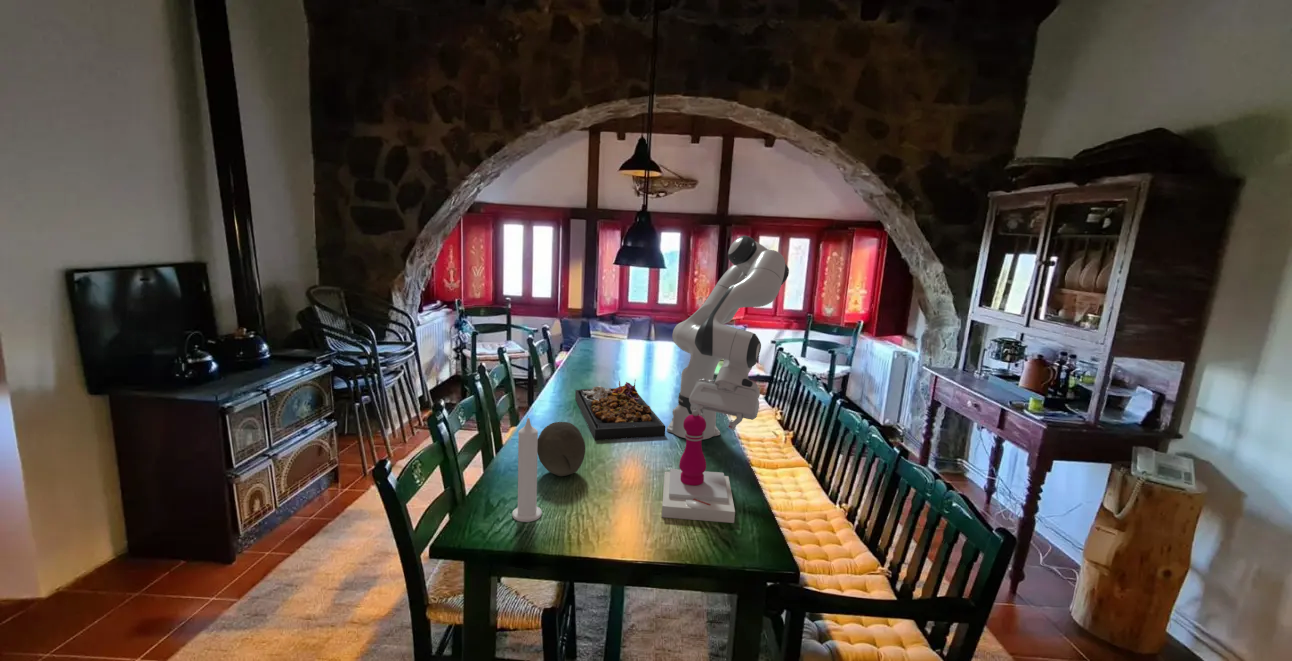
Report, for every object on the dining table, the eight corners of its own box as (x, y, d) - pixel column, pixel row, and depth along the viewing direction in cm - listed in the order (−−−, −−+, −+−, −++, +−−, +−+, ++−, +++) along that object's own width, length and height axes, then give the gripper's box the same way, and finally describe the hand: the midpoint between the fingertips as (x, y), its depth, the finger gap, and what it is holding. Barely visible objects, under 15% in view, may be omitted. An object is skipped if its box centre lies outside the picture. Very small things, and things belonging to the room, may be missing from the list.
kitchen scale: (664, 481, 158) (665, 467, 158) (727, 486, 157) (728, 472, 157) (661, 517, 139) (662, 502, 138) (734, 523, 138) (735, 507, 137)
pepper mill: (688, 472, 155) (691, 403, 152) (710, 480, 151) (714, 409, 147) (673, 480, 150) (676, 409, 146) (695, 489, 145) (699, 416, 142)
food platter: (575, 400, 229) (575, 376, 227) (633, 398, 235) (634, 374, 233) (594, 442, 186) (595, 412, 184) (664, 438, 193) (666, 409, 191)
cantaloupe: (592, 467, 165) (593, 419, 162) (573, 488, 152) (574, 436, 149) (548, 460, 169) (549, 412, 166) (526, 479, 155) (527, 428, 152)
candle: (512, 523, 132) (513, 423, 128) (511, 508, 139) (512, 413, 134) (542, 520, 134) (544, 422, 130) (540, 506, 141) (542, 412, 136)
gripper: (695, 372, 166) (679, 412, 160) (761, 384, 157) (747, 427, 150) (700, 383, 171) (685, 422, 164) (765, 395, 161) (751, 438, 155)
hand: (715, 425), depth 157 cm, fingers open, 8 cm apart
